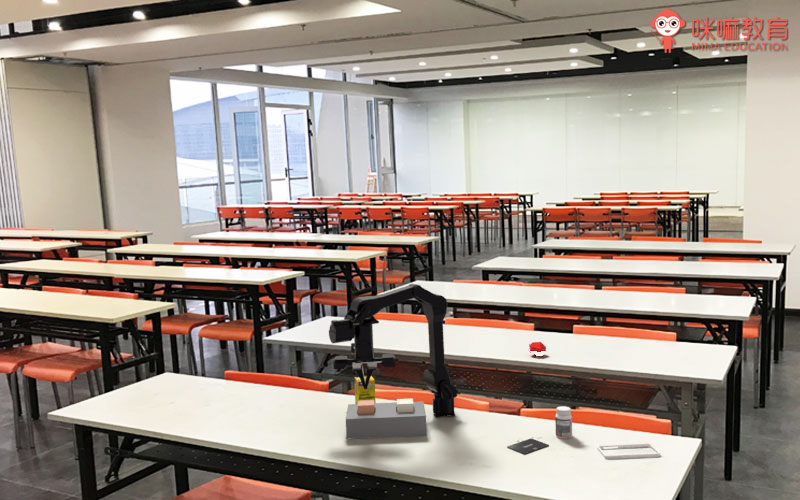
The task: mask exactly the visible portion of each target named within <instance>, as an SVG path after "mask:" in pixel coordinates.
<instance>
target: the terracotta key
mask: <svg viewBox="0 0 800 500" xmlns="http://www.w3.org/2000/svg"><path fill="white" fill-rule="evenodd" d="M371 413H375V403H374V400H362V401H358V414H371Z"/></svg>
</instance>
